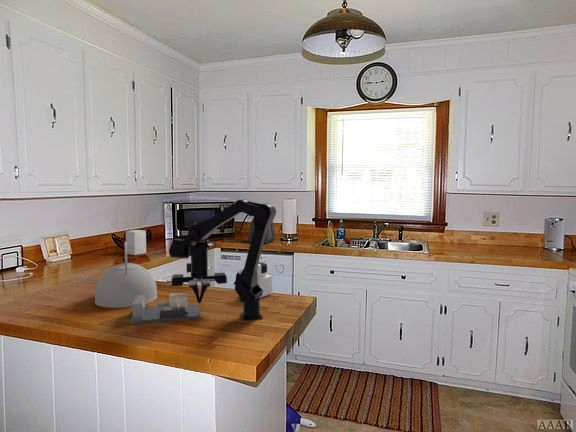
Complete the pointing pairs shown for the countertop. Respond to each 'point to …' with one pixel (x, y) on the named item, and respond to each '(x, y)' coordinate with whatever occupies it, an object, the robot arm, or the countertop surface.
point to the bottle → (269, 235)
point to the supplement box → (136, 242)
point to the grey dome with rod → (125, 285)
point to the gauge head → (176, 301)
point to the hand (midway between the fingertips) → (199, 302)
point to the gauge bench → (156, 314)
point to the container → (264, 279)
